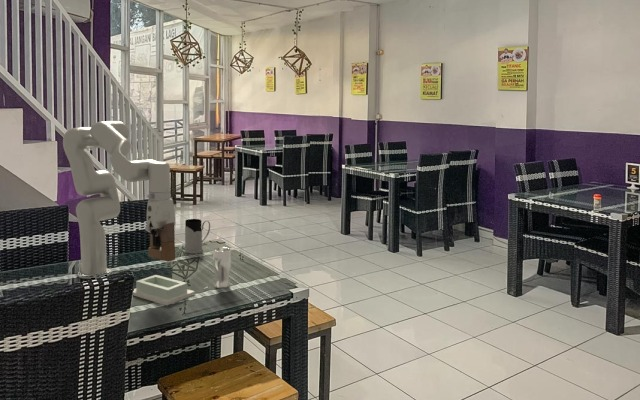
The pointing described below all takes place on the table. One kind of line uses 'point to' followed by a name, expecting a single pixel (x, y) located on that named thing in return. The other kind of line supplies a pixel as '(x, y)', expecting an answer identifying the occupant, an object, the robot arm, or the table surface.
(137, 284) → the end cap
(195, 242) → the grey handled cylinder
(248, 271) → the table surface
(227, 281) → the beer glass
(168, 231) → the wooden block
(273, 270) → the table surface
